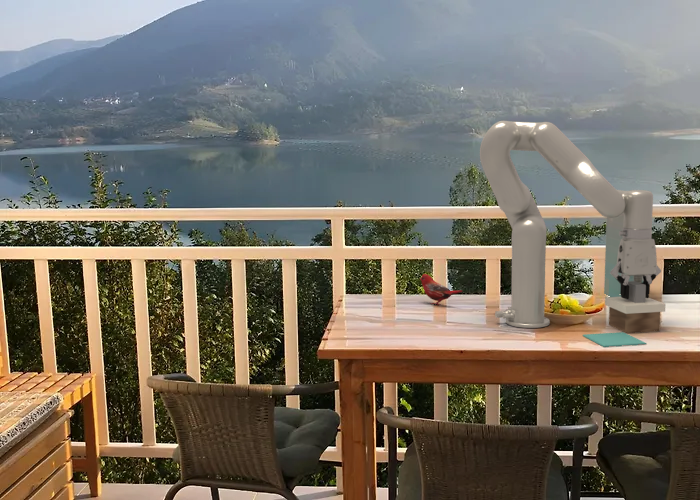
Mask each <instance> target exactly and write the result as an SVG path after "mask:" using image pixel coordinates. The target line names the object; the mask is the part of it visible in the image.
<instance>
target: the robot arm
mask: <svg viewBox="0 0 700 500" xmlns="http://www.w3.org/2000/svg"><path fill="white" fill-rule="evenodd" d="M511 151H524V152H525V151H527V152H537V153H539V155H541V156H542V158H543V159H545V161H546V162H547V163H548V164H549V165H550V166H552V168H553V169H554V170H555V171H556V172H557V173H558V174H559V175H560V176H561V177H562V178H563V179H564V180H565V181H566V182H567V183H568V184H569V185H571V186H572V187H573V188H574V189H576V191H578V193H579V194H580V195H582V197H583V198H584V199H585V200H586V201H587V202H588V203H589V204H590V205H591V206H592V207H593V208H594V209H595V210H596V211H597V212H598V214H600V215H601V216H603V217H604V218H606V219H607V218H615V217H618V216H619V215H621V214H624V223H623V230H622V231H619V235H620V236H622V237H623V239H621V241H620V245H619V249H618V256H617V264H616V266H615V267H614V268H613V269H612V270H611V272H610V274H611V275H612V276H613V277H615V279H616V280H617V281H618V282H619V283H620V284H621V289H620V294H621V297H622V298H624V299H629V285H628V281H629V278H630V276H636V275H642V279H643V282H642V284H645V285H646V296H645V298H650V297H649V296H650V294H651V293H650V292H651V291H650V290H651V285H652V284H653V281H654V280H655V279H656V278H657V277H658V276H659V275H660V274H661V273H662V269H661V268H660V267H659V266H658V260H657V259H658V257H657V248H656V242H655V239H654V238H652V233H653V232H652V231H653V230H652V228H653V226H652V225H653V208H654V207H653V205H654V194H653V192H652V191H650V190H644V189H643V190H642V189H632V190H623V189H617V188H616V187H615V186H613V185H612V183H610V182H609V181H608V180H607V178H605V177H604V175H603V174H602V173H600V171H599V170H598V168H596V167H595V165H594V164H593V163H592V161H591V160H590V159H589V158H588V157H587V156H586V155H585V154H584V153H583V152H582V151H581V149H580V148H579V147H577V146H576V145H575V144H574V143H573V142H572V140H570V139H569V137H567V135H566V134H565V133H563V132H562V131H561V129H559V128H558V127H557V125H555V124H554V123H553V122H549V121H543V122H542V121H540V122H534V121H533V122H528V121H510V120H500V121H496V122H495V123H494V124H492V126H490V128H489V129H487V131H486V133H485V134H484V136H483V138H482V140H481V142H480V147H479V158H480V159H479V160H480V164H481V168H482V170H483V172H484V174H485V176H486V179H487V181H488V184H489V185H490V189H491V190H492V192H493V195H494V197H495V199H496V202H497V205H498V208H499V209H500V210H501V211H502V212H503V213H504V215H505V217H506V219H507V221H508V223H509V225H510V227H511V229H512V231H511V299H510V300H511V304H510V305H511V306H507V309H506V310H499V311H498V310H497V311H495V313H494V316H495V318H496V319H497V318H498V319H499V318H502V319H505V323H506V324H507V325H508V326H512V327H516V328H521V329H522V328H524V329H539V328H545V327H547V326H549V325H550V323H551V322H550V319H549V318H548V317H545V304H546V303H545V301H546V300H545V299H546V292H545V291H546V252H547V251H546V249H547V226H546V222H545V220H544V218H543V216H542V214H541V212H540V209H539V208H538V205H537V204H536V201H535V200H534V197H533V195H532V192H531V190H530V189H529V187H528V186H527V185H526V184H525V183H523V181H522V180H521V177H520V176H519V174H518V171H517V169H516V166H515V164H514V162H513V160H512V158H511ZM618 272H619V273H622V274H621V276H620V275H619V274H618Z"/></svg>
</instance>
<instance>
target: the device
mask: <svg viewBox="0 0 700 500" xmlns="http://www.w3.org/2000/svg"><path fill="white" fill-rule="evenodd" d="M605 221H606V224H605V225H606V226H605V252H604V254H605V256H604V257H605V258H604V283H603V284H604V286H603V289H604V290H603V295H604V294H606V295H608V296H610V297H621V295H619V294H620V289H621V284H620V283H619V282H618V281H617V280H616V279H615V277H613V276H612V275H611V274H610V272H611V270H612V269H613V268H614V267H615V266H616V264H617V256H618V249H619V245H620V241H621V239H623V237H622V236H620V235H619V231H622V230H623V223H624V214H621V215H619V216H618V217H615V218H607V217H606V220H605ZM618 274H619V275H620V276H621V274H622V273H619V272H618ZM629 281H636V282H639V283H642V282H643V279H642V275H636V276H630V278H629ZM608 296H607V297H608Z"/></svg>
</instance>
